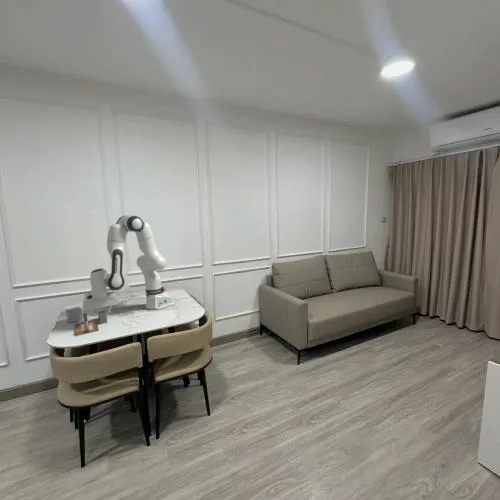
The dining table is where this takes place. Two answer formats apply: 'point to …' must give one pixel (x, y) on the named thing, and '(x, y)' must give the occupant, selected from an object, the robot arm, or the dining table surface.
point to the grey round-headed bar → (102, 317)
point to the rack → (86, 326)
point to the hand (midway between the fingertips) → (101, 313)
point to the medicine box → (73, 314)
